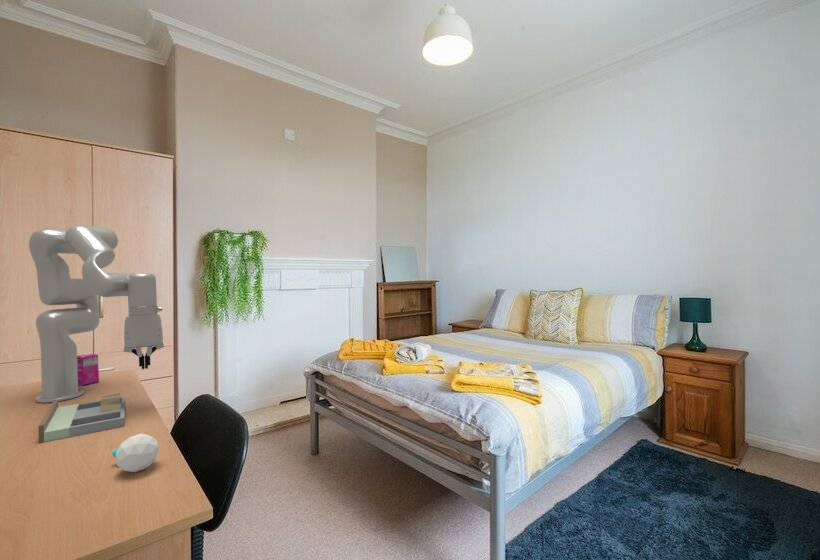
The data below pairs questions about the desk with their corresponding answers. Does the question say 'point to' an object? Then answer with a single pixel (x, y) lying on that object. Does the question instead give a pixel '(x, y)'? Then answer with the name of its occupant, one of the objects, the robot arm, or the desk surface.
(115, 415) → the board
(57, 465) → the desk surface
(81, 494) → the desk surface
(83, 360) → the supplement box
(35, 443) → the desk surface
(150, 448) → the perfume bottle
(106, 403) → the maple block
